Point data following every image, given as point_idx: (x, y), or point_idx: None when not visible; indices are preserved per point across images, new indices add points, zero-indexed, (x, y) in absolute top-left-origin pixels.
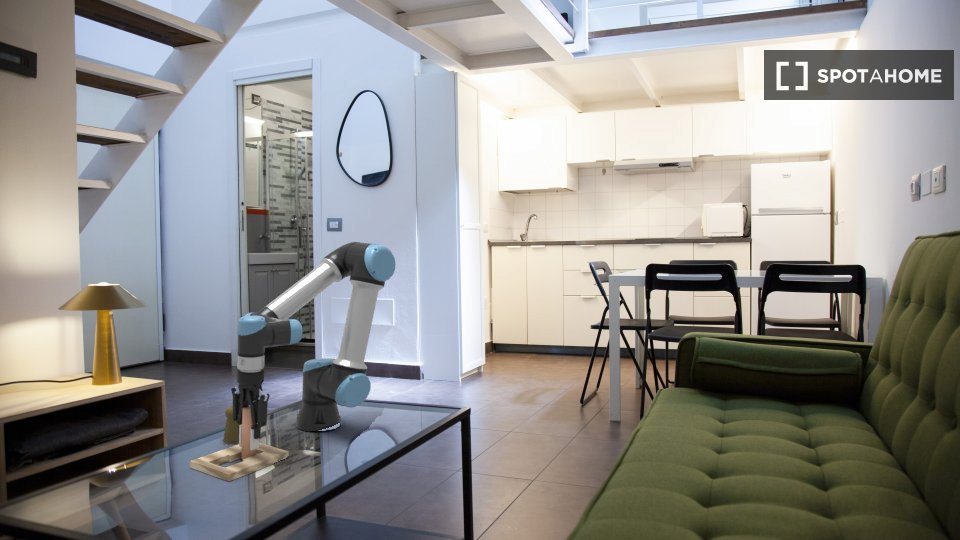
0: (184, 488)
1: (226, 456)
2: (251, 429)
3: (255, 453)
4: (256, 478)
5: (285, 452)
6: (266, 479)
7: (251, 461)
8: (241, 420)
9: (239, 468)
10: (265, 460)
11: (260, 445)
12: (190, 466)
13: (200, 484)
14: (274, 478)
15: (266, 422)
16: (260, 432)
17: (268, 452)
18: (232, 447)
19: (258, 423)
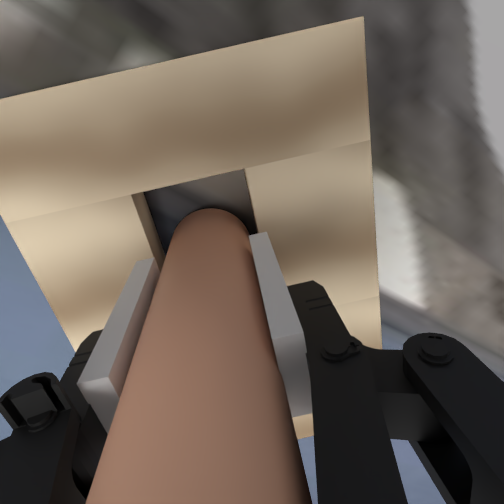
0: (313, 494)
1: None
2: (302, 406)
3: (239, 228)
4: (430, 311)
5: (358, 50)
6: (473, 286)
7: (331, 298)
8: (85, 479)
9: None
10: (375, 237)
11: (111, 121)
12: None
13: None
14: (495, 256)
15: (483, 365)
16: (334, 308)
17: (275, 152)
18: (55, 284)
19: (445, 461)
